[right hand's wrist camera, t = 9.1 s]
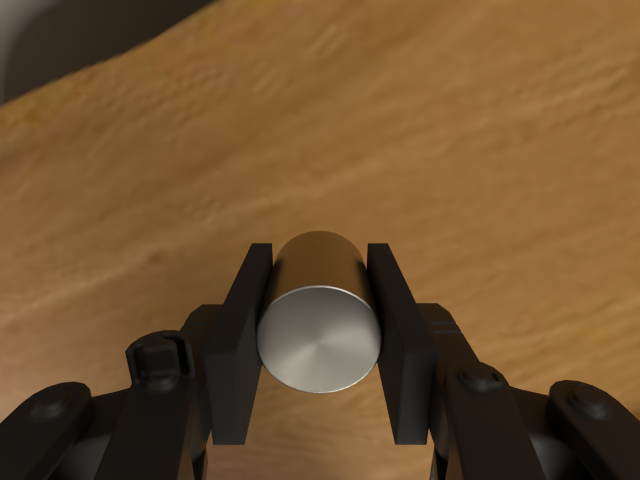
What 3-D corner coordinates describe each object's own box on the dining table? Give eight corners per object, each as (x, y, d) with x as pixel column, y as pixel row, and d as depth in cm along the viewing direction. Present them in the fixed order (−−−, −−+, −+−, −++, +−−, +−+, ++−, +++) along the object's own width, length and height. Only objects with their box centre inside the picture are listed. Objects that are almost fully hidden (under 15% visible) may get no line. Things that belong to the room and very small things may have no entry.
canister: (369, 232, 14) (391, 289, 10) (361, 315, 16) (376, 396, 11) (273, 227, 14) (253, 282, 10) (272, 311, 15) (254, 391, 11)
